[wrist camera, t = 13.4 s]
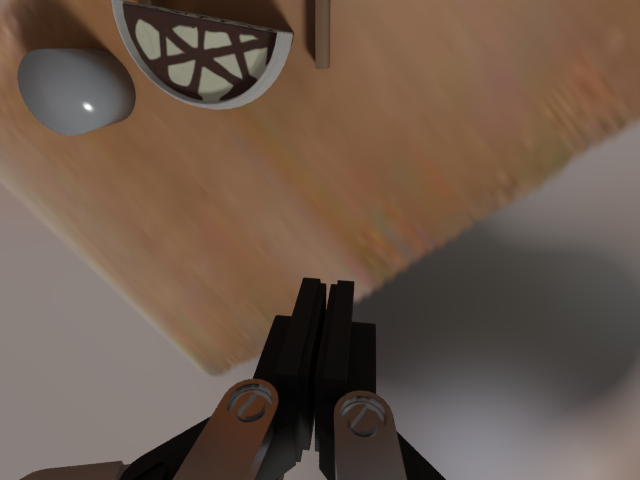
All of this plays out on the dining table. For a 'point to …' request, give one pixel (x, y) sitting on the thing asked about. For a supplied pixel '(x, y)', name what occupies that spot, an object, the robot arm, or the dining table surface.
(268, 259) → the dining table surface
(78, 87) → the grey glossy rounded part
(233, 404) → the robot arm
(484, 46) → the dining table surface
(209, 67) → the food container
